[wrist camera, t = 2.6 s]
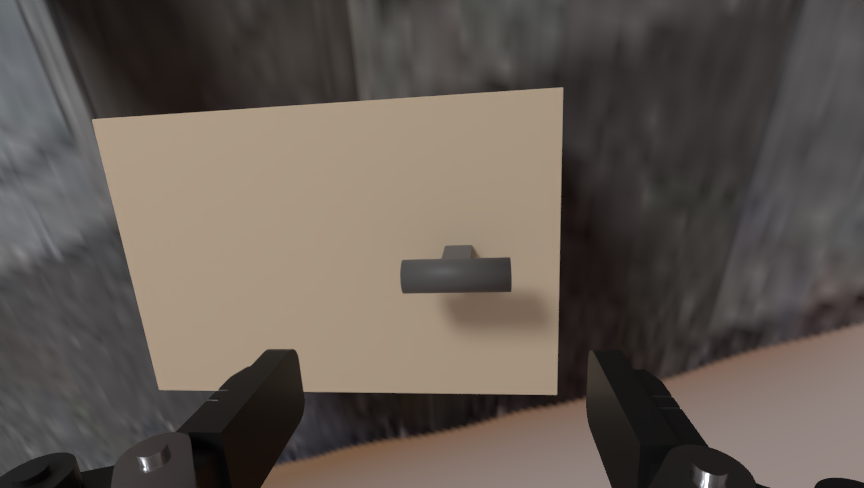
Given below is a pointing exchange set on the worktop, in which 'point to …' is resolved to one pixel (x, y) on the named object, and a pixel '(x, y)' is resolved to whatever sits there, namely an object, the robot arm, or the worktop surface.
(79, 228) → the worktop surface
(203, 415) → the robot arm
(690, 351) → the worktop surface
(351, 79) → the worktop surface
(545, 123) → the carton lid
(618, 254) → the worktop surface
